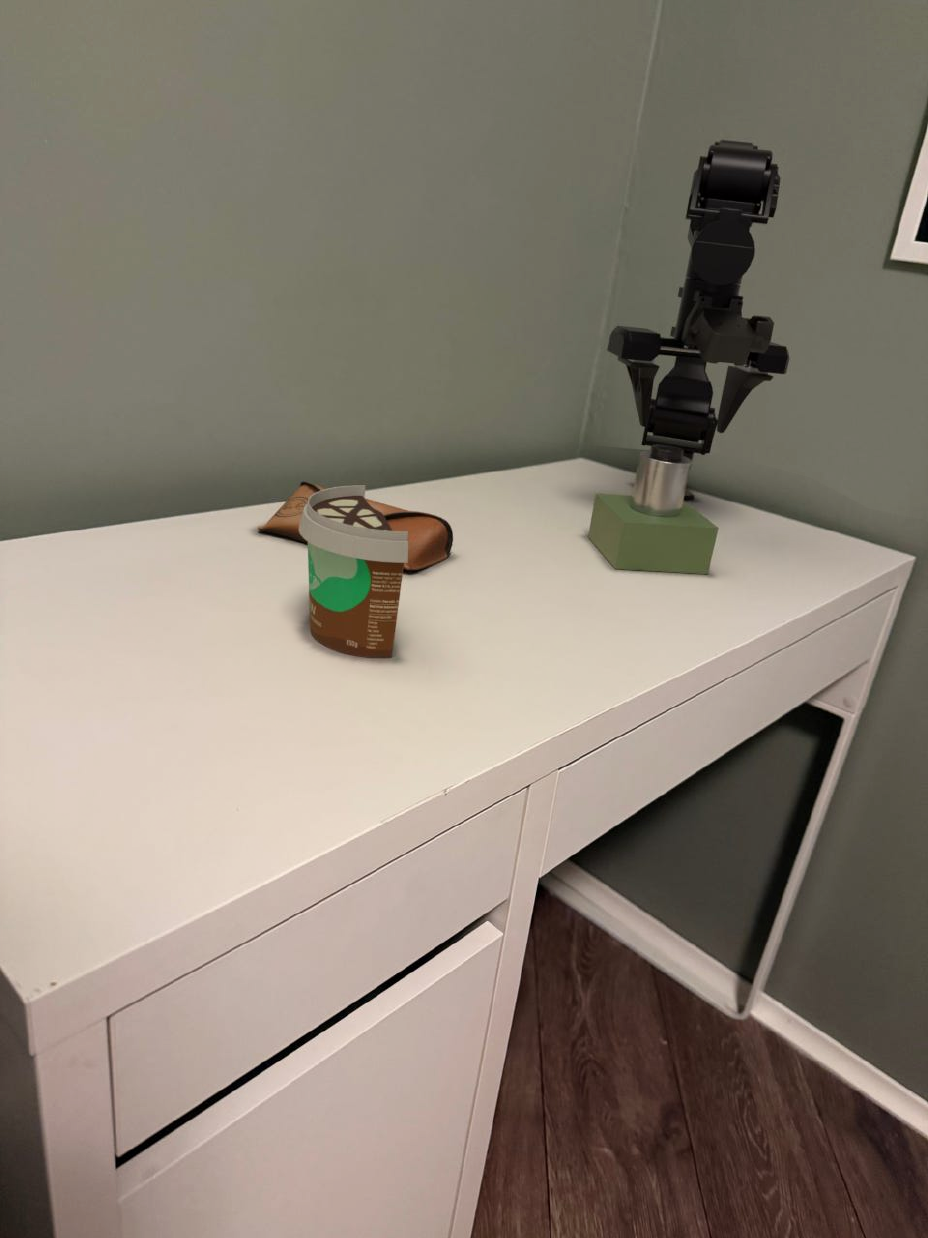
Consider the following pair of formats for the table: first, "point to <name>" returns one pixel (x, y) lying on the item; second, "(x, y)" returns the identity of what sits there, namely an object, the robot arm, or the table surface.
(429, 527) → the sunglasses case
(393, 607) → the food container
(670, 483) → the flask
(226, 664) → the table surface
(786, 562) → the table surface
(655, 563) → the green block
